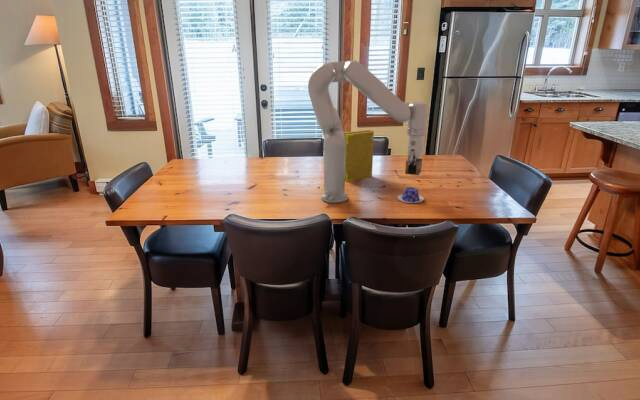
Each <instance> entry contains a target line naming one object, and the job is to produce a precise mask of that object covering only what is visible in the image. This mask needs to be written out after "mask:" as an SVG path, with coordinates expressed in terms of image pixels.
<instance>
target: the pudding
mask: <svg viewBox="0 0 640 400" xmlns="http://www.w3.org/2000/svg"><path fill="white" fill-rule="evenodd" d="M397 199H398V200H399V201H401V202H403V203H410V204H414V203H415V204H416V203H422V202H423V201H425V198H424V197H423V196H422V195H419V190H418V188H417V187H411V186H409V187H408V186H407V187H405V188H404V190H403V192H402V193H401V194H399V195H398V196H397Z"/></svg>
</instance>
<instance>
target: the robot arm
mask: <svg viewBox="0 0 640 400" xmlns="http://www.w3.org/2000/svg"><path fill="white" fill-rule="evenodd" d="M342 82H349V83H350V84H351V85H352V86H353V87H354V88H355V89H357V90H358V91H359V92H361V93H362V94H363V95H364V96H365V97H366V98H368V100H370V101H371V102H372V103H373V104H375V105H376V106H378V107H379V108H380V109H381V110H382V111H384V112H385V113H386V114H387V115H388V116H389V117H391V118H392V120H394V121H396V123H397V122H398V123H400V124H401V123H406V122H407V133H406V134H407V135H406V136H408V147H407V148H408V149H407V159H408V158H410V159H409V167H408V173H409V174H408V175H410V174H415V173H416V158H417V159H421V158H422V156H423V152H424V149H423V147H424V137H425V136H426V127H427V115H428V104H427V103H426V102H422V101H421V102H420V101H418V102H417V101H416V102H405V101H403V100H401V99H400V97H398V96H397V95H395V93H393V92H392V90H390V89H389V88H388V87H387V85H386V84H384V82H383V81H381V80H380V79H379V78H378V77H377V76H375V74H373V73H372V72H371V71H370V70H369V69H367V68H366V67H365V66H364V65H363V64H362V63H360V62H359V61H357V60H346V61H345V60H344V61H342V60H341V61H331V62H330V61H329V62H324V63H323V62H322V63H321V64H319V65H318V66H317V67H316V68H315V70H313V71H312V73H311V74H310V77H309V79H308V85H307V91H308V94H309V98H310V101H311V102H310V103H311V106H312V108H313V112H314V115H315V119H316V123H317V125H318V126H319V127H320V128H321V131H322V135H323V179H324V180H323V181H324V182H323V183H324V186H323V187H324V189H323V190H324V192H323V193H322V194H321V196H320V198H321V200H322V201H323V202H325V203H332V204H338V203H344V202H346V201H348V199H349V196H348V194H347V193H346V191H345V189H346V188H345V186H346V183H345V182H346V181H345V146H346V142H345V134H344V132H345V131H344V129H343V125H342V121H341V119H340V115H339V113H338V110H337V108H335V106H334V103H333V101H332V96H331V94H330V91H329V87H330V85H331V84H332V83H342Z"/></svg>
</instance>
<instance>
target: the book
mask: <svg viewBox="0 0 640 400" xmlns="http://www.w3.org/2000/svg"><path fill="white" fill-rule="evenodd" d="M374 133H375V131H374V130H370V129H369V130H357V131H355V130H354V131H344V134H345V142H346V146H345V182H353V181H358V180H365V179H370V178H372V177H373V160H374V159H373V157H374V137H375V136H374V135H375V134H374Z"/></svg>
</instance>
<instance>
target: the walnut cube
mask: <svg viewBox="0 0 640 400" xmlns="http://www.w3.org/2000/svg"><path fill="white" fill-rule="evenodd" d="M409 159H410V158H408V157H407V159H406V161H405V171H404V172H405V173H404V174H405V175H410V176H411V175H412V176H420V174H421V173H422V167H423V166H422V165H423V158H419V159H417V158H416V173H415V174H409V173H408V167H409Z"/></svg>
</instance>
